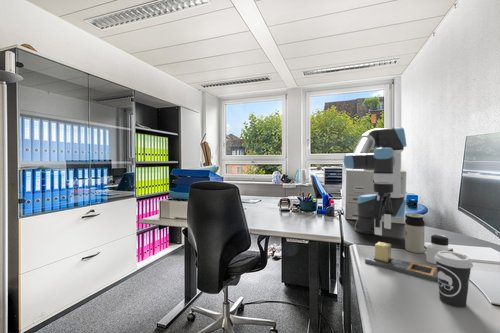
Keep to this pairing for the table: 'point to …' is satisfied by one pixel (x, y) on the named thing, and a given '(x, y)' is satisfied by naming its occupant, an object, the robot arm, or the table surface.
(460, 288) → the coffee cup
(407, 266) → the rail
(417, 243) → the travel mug
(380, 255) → the nut block
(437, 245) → the medicine bottle
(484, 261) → the table surface
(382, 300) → the table surface
